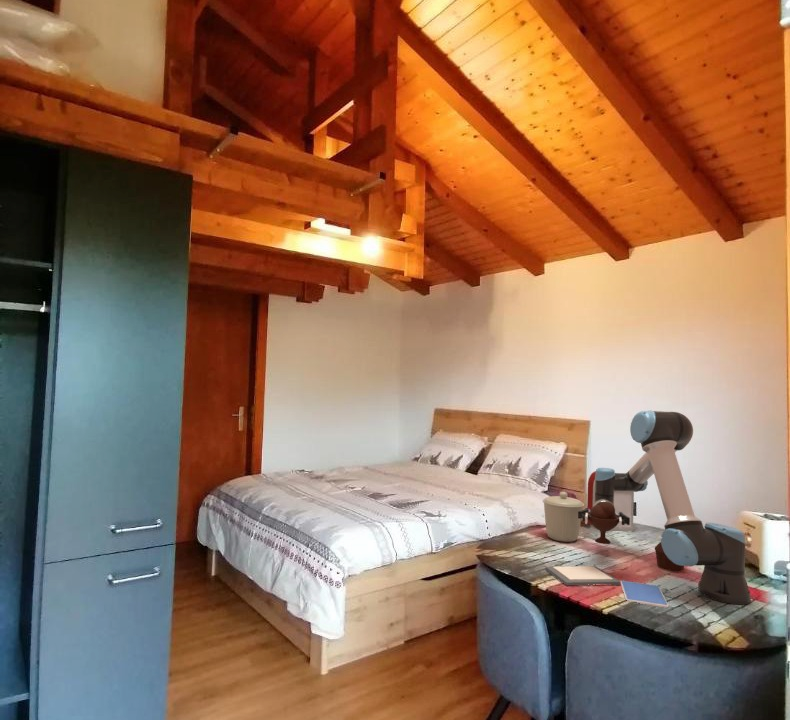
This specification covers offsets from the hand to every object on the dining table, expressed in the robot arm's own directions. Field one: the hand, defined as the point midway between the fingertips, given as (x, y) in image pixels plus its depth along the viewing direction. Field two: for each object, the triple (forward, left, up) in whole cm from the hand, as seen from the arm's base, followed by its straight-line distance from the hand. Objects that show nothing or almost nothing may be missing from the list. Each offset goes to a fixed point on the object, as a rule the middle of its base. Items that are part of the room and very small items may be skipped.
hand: (603, 522), depth 197 cm
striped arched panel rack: (+67, -44, -19) cm, 83 cm away
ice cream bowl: (+4, -2, -8) cm, 9 cm away
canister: (+46, -8, -19) cm, 51 cm away
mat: (-2, +9, -19) cm, 21 cm away
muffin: (+7, -33, -19) cm, 39 cm away
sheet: (-2, +9, -18) cm, 20 cm away
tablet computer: (-18, -4, -20) cm, 27 cm away
